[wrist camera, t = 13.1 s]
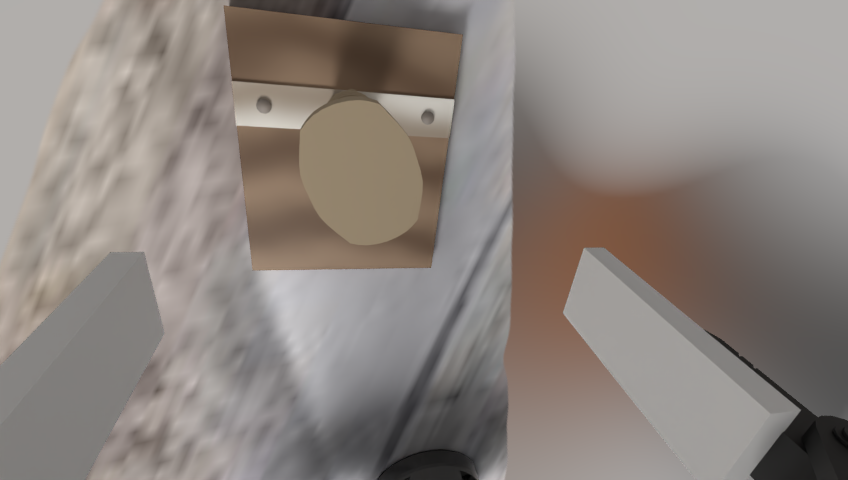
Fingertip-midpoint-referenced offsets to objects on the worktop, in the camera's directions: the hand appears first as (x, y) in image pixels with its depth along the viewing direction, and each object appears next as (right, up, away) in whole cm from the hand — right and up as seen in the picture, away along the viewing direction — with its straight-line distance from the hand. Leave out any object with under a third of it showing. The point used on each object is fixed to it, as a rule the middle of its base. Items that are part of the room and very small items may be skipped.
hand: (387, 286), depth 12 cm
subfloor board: (-5, +8, +21) cm, 23 cm away
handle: (-4, +11, +18) cm, 21 cm away
